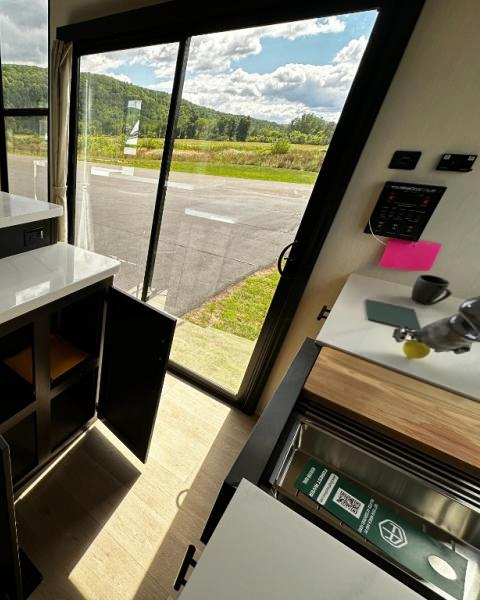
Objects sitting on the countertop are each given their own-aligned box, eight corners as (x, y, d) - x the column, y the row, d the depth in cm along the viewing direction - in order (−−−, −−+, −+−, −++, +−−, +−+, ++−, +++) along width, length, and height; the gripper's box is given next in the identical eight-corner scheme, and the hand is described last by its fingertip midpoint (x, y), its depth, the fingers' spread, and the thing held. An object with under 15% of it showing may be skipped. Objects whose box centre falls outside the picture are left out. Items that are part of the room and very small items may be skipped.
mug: (422, 311, 117) (437, 289, 112) (401, 295, 127) (413, 273, 122) (449, 313, 115) (465, 290, 110) (425, 296, 125) (438, 275, 120)
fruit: (421, 367, 93) (436, 346, 89) (396, 358, 96) (410, 338, 92) (422, 357, 96) (437, 337, 92) (398, 349, 100) (411, 329, 95)
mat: (413, 310, 117) (414, 309, 117) (421, 332, 106) (422, 331, 106) (365, 300, 124) (366, 298, 124) (368, 320, 113) (368, 318, 113)
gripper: (407, 338, 84) (382, 347, 98) (485, 357, 77) (447, 364, 91) (414, 312, 85) (389, 325, 99) (492, 329, 78) (453, 340, 92)
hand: (417, 344), depth 95 cm, fingers open, 8 cm apart
